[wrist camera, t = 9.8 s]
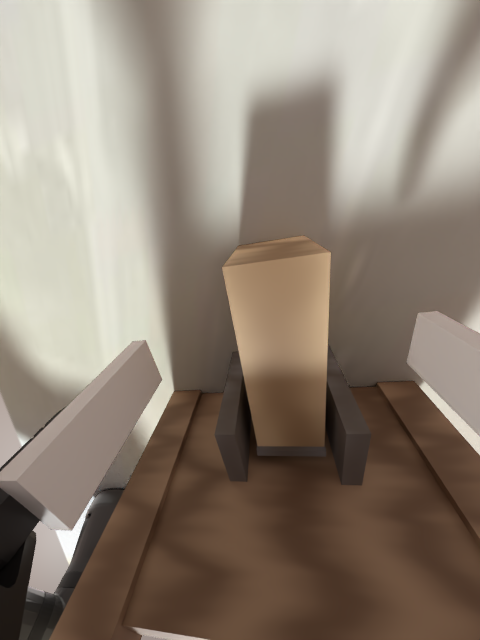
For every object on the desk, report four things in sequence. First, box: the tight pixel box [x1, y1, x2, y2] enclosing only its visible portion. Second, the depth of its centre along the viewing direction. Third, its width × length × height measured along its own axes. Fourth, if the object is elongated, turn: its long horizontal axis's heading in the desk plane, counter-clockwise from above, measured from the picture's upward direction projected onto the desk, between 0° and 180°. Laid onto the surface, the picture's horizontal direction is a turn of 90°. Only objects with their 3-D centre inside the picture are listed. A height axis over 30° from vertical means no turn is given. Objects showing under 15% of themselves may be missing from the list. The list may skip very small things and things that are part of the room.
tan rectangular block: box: [222, 235, 331, 457], centre depth 14 cm, size 5×13×7 cm, turn 9°
